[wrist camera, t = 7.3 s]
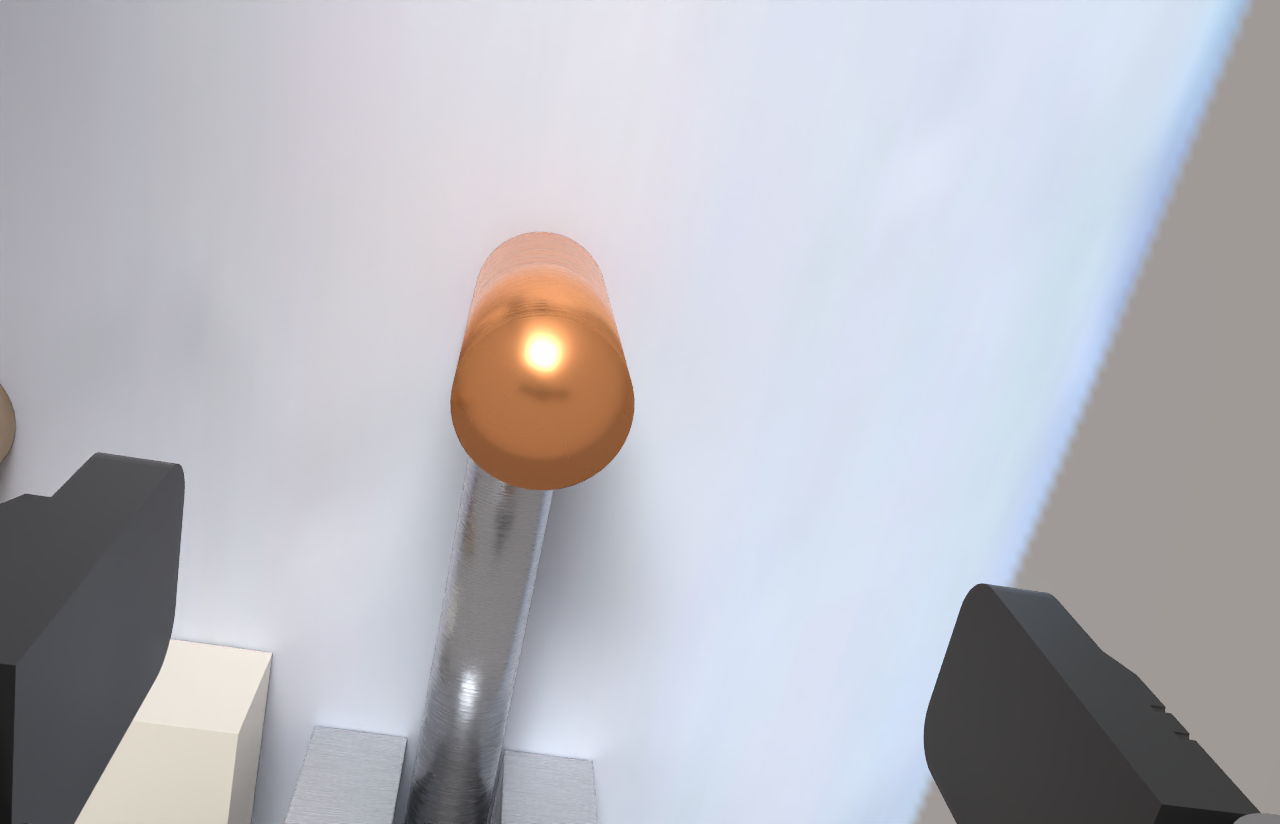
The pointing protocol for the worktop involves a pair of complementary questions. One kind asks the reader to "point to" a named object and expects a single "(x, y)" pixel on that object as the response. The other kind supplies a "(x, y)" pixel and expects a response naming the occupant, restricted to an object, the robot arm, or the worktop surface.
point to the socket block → (189, 743)
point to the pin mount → (371, 769)
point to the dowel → (6, 424)
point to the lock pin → (512, 494)
